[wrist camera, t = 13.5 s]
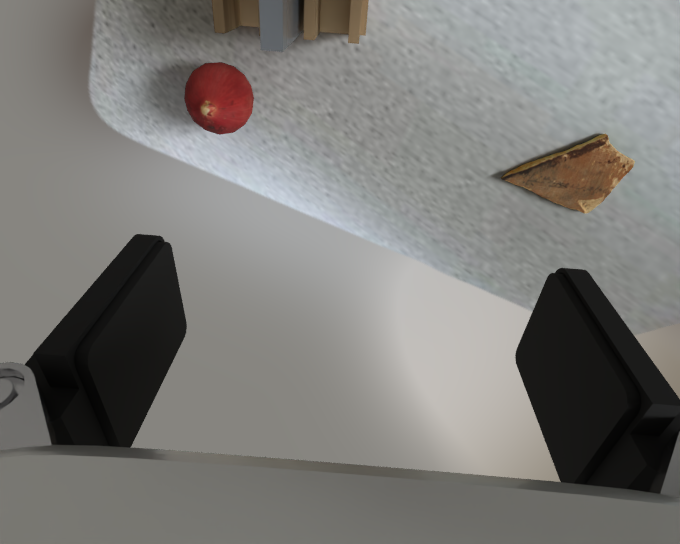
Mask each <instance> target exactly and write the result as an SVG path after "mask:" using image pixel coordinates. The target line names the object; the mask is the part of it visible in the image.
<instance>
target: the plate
mask: <svg viewBox="0 0 680 544" xmlns="http://www.w3.org/2000/svg"><path fill="white" fill-rule="evenodd" d="M259 14H260V41H261V50H267V51H279V52H283V51H284V50H285V49H286V48H287V47H288V46H289V45H290V44H291V43H292V42H293V41H294V40H295V39H296V38H297V37H298V36H299V35H300V34H301V33H302V31H303V30H304V0H259Z"/></svg>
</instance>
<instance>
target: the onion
mask: <svg viewBox="0 0 680 544" xmlns="http://www.w3.org/2000/svg"><path fill="white" fill-rule="evenodd" d="M184 99H185V103H186V107H187V110H188V112H189V114H190V115H191V117H192V119H193V120H194V122H196V123H197V124H198V125H199V126H201V127H202V128H203V129H205V130H207V131H210V132H213V133H216V134H226V133H233V132H235V131H236V130H238V129H239V128H241V127H242V126H244V125H245V123H246V122H247V120H248V119H249V117H250V115H251V114H252V108H253V100H254V97H253V93H252V88H251V85H250V84H249V82H248V80H247V79H246V77H245V75H244V74H243V73H241V72H240V71H239V70H238V69H236V68H235V67H234V66H231V65H228V64H225V63H222V62H219V63H205V64H204V65H202V66H200V67H199V68H197V69H195V70H194V71H193V72H192V74H191V76H190V77H189V79H188V81H187V83H186V88H185V98H184Z"/></svg>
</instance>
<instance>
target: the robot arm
mask: <svg viewBox="0 0 680 544" xmlns="http://www.w3.org/2000/svg"><path fill="white" fill-rule="evenodd" d="M186 327H187V326H186V319H185V314H184V308H183V303H182V298H181V293H180V288H179V283H178V277H177V272H176V267H175V262H174V257H173V252H172V247H171V245H170V243H168V242H164V239H163V238H162V237H161V236H155V235H142V234H137V235H135V236H134V237H133V238H132V239H131V240H130V241H129V242H128V243H127V245H126V246H125V247H124V248H123V249H122V251H121V252H120V253H119V254H118V255H117V257H116V258H115V259H114V260H113V261H112V262H111V263H110V265H109V266H108V267H107V268H106V269H105V270H104V272H103V273H102V274H101V275H100V276H99V277H98V279H97V280H96V281H95V282H94V283H93V284H92V286H91V287H90V288H89V289H88V290H87V292H86V293H85V294H84V295H83V296H82V297H81V298H80V300H79V301H78V302H77V303H76V304H75V305H74V307H73V308H72V309H71V310H70V311H69V312H68V314H67V315H66V316H65V317H64V318H63V319H62V321H61V322H60V323H59V324H58V325H57V326H56V328H55V329H54V330H53V331H52V332H51V333H50V335H49V336H48V337H47V338H46V339H45V340H44V342H43V343H42V344H41V345H40V346H39V347H38V349H37V350H36V351H35V352H34V354H33V355H32V357H31V358H30V359H29V360H28V361H27V363H26V364H25V365H23V364H19V363H14V362H7V363H0V544H680V399H679V398H678V396H677V395H676V393H675V392H674V391H673V389H672V388H671V387H670V385H669V384H668V382H667V381H666V380H665V378H664V377H663V375H662V374H661V373H660V371H659V370H658V369H657V367H656V366H655V364H654V363H653V361H652V360H651V359H650V357H649V356H648V355H647V353H646V352H645V351H644V349H643V348H642V346H641V345H640V343H639V342H638V341H637V339H636V338H635V337H634V335H633V334H632V332H631V331H630V330H629V328H628V327H627V325H626V324H625V323H624V321H623V320H622V318H621V317H620V316H619V314H618V313H617V312H616V310H615V309H614V307H613V306H612V305H611V303H610V302H609V300H608V299H607V298H606V296H605V295H604V294H603V292H602V291H601V289H600V288H599V287H598V285H597V284H596V282H595V281H594V280H593V278H592V277H591V275H590V274H589V273H588V272H587V271H586V270H580V269H568V268H560V269H558V270H557V271H556V272H555V273H551V274H550V275H549V276H548V277H547V280H546V282H545V284H544V287H543V289H542V291H541V294H540V296H539V298H538V301H537V303H536V305H535V308H534V310H533V312H532V315H531V317H530V320H529V322H528V324H527V326H526V329H525V331H524V334H523V336H522V338H521V341H520V343H519V345H518V348H517V351H516V364H517V367H518V369H519V372H520V375H521V377H522V380H523V383H524V386H525V388H526V391H527V394H528V396H529V399H530V401H531V404H532V407H533V410H534V412H535V415H536V417H537V420H538V423H539V425H540V428H541V431H542V434H543V436H544V438H545V442H546V444H547V447H548V450H549V452H550V455H551V457H552V460H553V463H554V465H555V468H556V471H557V473H558V476H559V479H560V481H561V482H553V481H541V480H531V479H519V478H508V477H507V478H506V477H496V476H484V475H473V474H461V473H450V472H439V471H426V470H415V469H403V468H391V467H379V466H367V465H354V464H341V463H330V462H318V461H305V460H293V459H280V458H267V457H254V456H241V455H227V454H214V453H202V452H201V453H200V452H189V451H175V450H160V449H143V448H130V447H131V446H132V444H133V441H134V439H135V437H136V435H137V433H138V431H139V429H140V427H141V425H142V423H143V421H144V419H145V417H146V415H147V412H148V410H149V409H150V407H151V405H152V403H153V401H154V399H155V396H156V394H157V392H158V390H159V388H160V386H161V384H162V382H163V380H164V378H165V376H166V374H167V372H168V370H169V367H170V366H171V364H172V362H173V360H174V358H175V356H176V353H177V351H178V349H179V347H180V345H181V343H182V341H183V339H184V337H185V334H186Z"/></svg>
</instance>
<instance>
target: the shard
mask: <svg viewBox="0 0 680 544" xmlns="http://www.w3.org/2000/svg"><path fill="white" fill-rule="evenodd" d="M634 163H635V161H634V160H632V159H631V158H628V157H626V156H625V155H623V154H622V153H620V152H618V151H617V150H616V149H615V148H614V147H613V146H612V145H611V144H610V142H609V138H608V135H606V134H602V135H599V136H597V137H595V138H593V139H592V140H590V141H587V142H585V143H583V144H580V145H576V146H575V147H573V148H571V149H569V150H566V151H563V152H560V153H556V154H552V155H549V156H546V157H544V158H541V159H538V160H535V161H533V162H529V163H526V164H524V165H522V166H519V167H518V168H516V169H514V170H511V171H509V172H508V173H506V174H505V175H504V176H503V177H501V179H503V180H505V181H508V182H510V183H513V184H515V185H517V186H521V187H524V188H526V189H528V190H530V191H532V192H534V193H536V194H537V195H539V196H541V197H543V198H546V199H549V200H550V201H552V202H554V203H556V204H560V205H562V206H564V207H567V208H570V209H576V210H578V211H580V212H582V213H589V212H590V211H592V210H593V209H594V208H595V207H596V206H598V205H599V204H600V203H601V202H603V201H604V199H605V198H606V197H607V196H608V195H609V194H610V193H611V191H612V189H613V188H615V186H616V185H617V184H618V183H619V182H620V181H621V179H622V178H623V177H624V176H625V175H626V174H627V173H628V172H629V171H630V170H631V169H632V168H633V166H634Z"/></svg>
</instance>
